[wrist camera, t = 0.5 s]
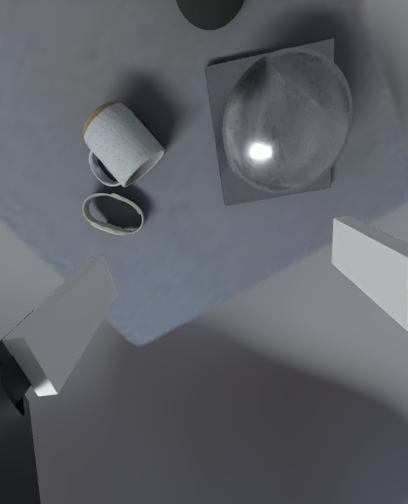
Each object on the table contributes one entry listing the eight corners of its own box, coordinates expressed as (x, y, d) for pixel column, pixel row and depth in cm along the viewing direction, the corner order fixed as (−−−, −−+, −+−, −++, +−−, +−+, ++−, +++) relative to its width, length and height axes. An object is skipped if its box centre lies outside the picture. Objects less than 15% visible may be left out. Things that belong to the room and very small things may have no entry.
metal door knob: (205, 69, 31) (204, 47, 25) (329, 42, 30) (364, 10, 23) (224, 204, 38) (228, 215, 31) (327, 186, 37) (353, 193, 30)
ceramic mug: (127, 101, 33) (105, 88, 26) (169, 150, 35) (159, 150, 28) (81, 156, 36) (49, 158, 29) (122, 198, 38) (102, 209, 31)
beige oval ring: (87, 218, 39) (72, 227, 35) (95, 181, 37) (79, 185, 32) (141, 237, 40) (132, 248, 36) (151, 203, 38) (144, 210, 34)
